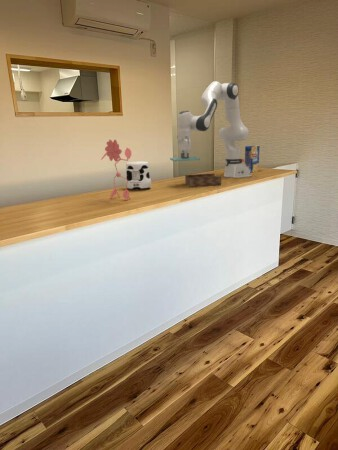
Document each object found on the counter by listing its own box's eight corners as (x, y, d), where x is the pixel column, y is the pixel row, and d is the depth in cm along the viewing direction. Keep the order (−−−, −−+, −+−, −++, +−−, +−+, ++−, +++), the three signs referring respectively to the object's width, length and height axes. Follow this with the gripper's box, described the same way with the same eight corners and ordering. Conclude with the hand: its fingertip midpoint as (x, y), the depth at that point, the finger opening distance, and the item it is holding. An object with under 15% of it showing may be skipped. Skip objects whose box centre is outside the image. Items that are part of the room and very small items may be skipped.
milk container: (143, 185, 238) (142, 160, 233) (156, 189, 224) (155, 162, 219) (121, 188, 229) (120, 162, 224) (133, 192, 215) (131, 164, 210)
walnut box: (214, 182, 244) (214, 173, 242) (221, 185, 230) (221, 176, 228) (185, 184, 240) (185, 175, 238) (190, 187, 226) (190, 178, 224)
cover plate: (194, 158, 235) (194, 151, 234) (199, 160, 224) (199, 153, 223) (170, 159, 232) (170, 152, 230) (174, 161, 220) (173, 154, 219)
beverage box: (258, 171, 290) (259, 145, 284) (250, 172, 284) (251, 146, 277) (251, 170, 295) (253, 145, 289) (244, 172, 289) (245, 146, 282)
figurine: (111, 195, 208) (105, 138, 197) (141, 200, 192) (136, 138, 181) (92, 200, 196) (85, 140, 185) (122, 206, 181) (116, 140, 170)
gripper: (193, 136, 214) (193, 157, 218) (185, 135, 233) (185, 155, 237) (183, 136, 213) (184, 158, 217) (176, 135, 232) (176, 155, 236)
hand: (184, 156), depth 227 cm, fingers closed on cover plate, 2 cm apart
